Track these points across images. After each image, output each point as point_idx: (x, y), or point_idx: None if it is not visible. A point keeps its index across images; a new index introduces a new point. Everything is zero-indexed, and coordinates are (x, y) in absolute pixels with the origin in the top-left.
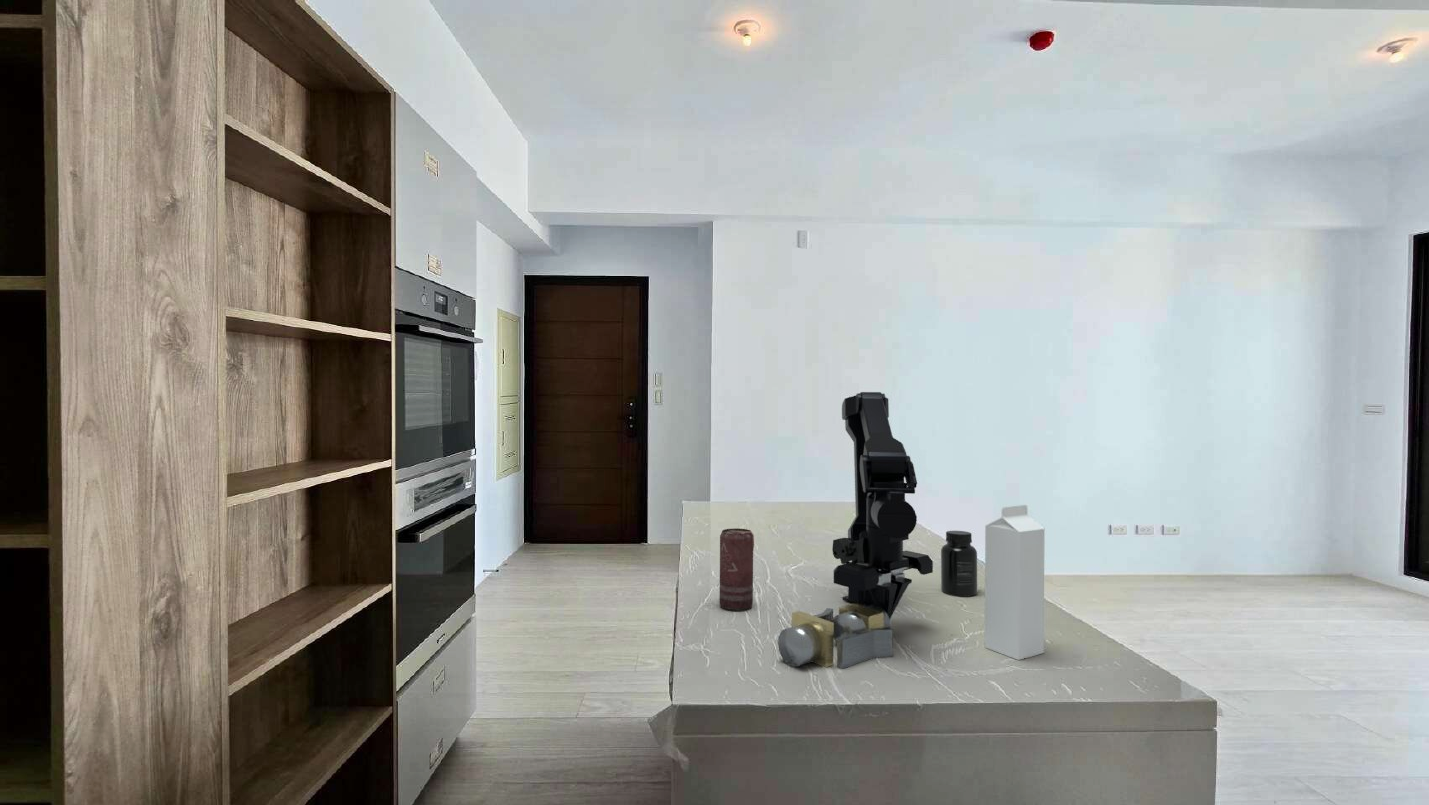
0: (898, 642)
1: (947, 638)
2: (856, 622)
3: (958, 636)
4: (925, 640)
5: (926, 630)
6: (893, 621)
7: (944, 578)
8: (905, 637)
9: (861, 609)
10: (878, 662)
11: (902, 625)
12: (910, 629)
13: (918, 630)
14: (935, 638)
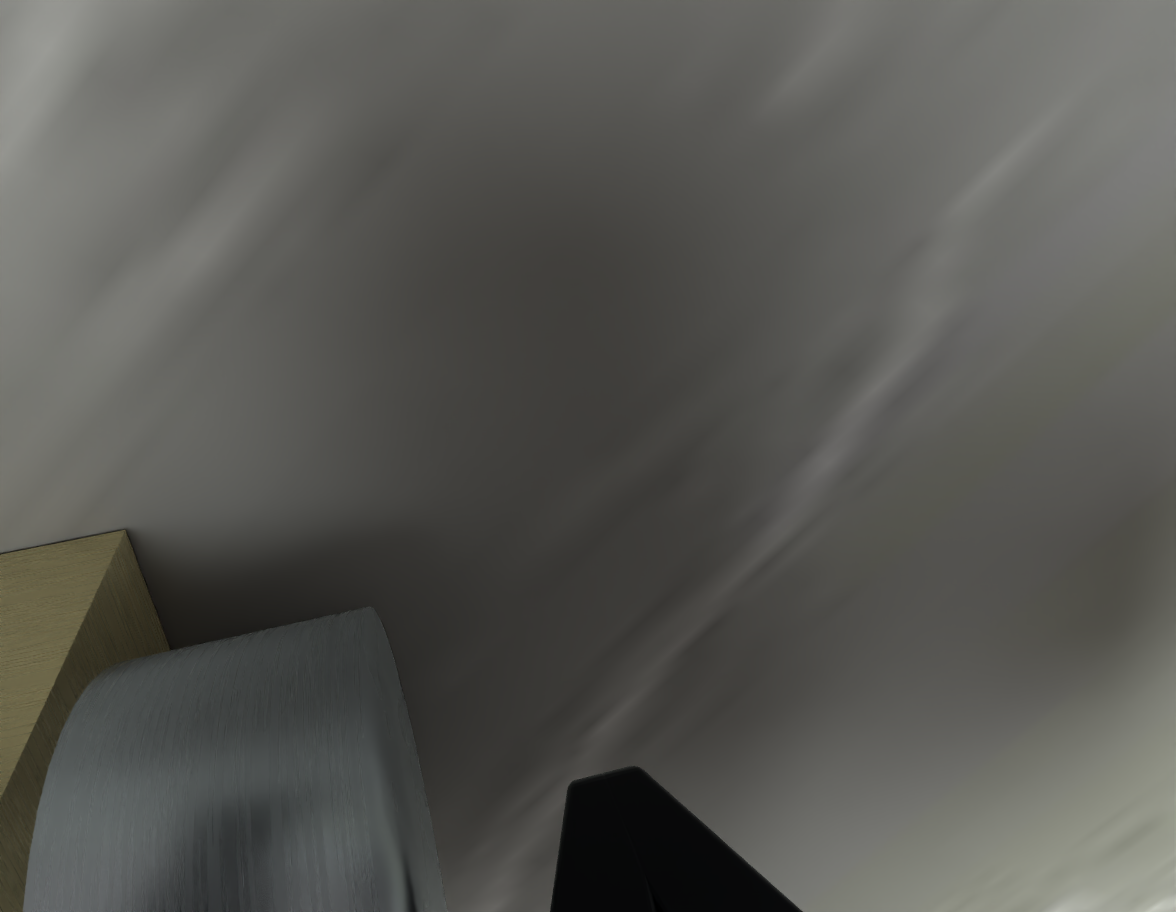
0: (538, 870)
1: (1020, 895)
2: None
3: (1131, 881)
4: (822, 889)
5: (1088, 686)
6: (1122, 286)
7: None
8: (732, 778)
9: None
10: None
11: (1059, 463)
12: (999, 606)
13: (1031, 660)
14: (942, 872)
